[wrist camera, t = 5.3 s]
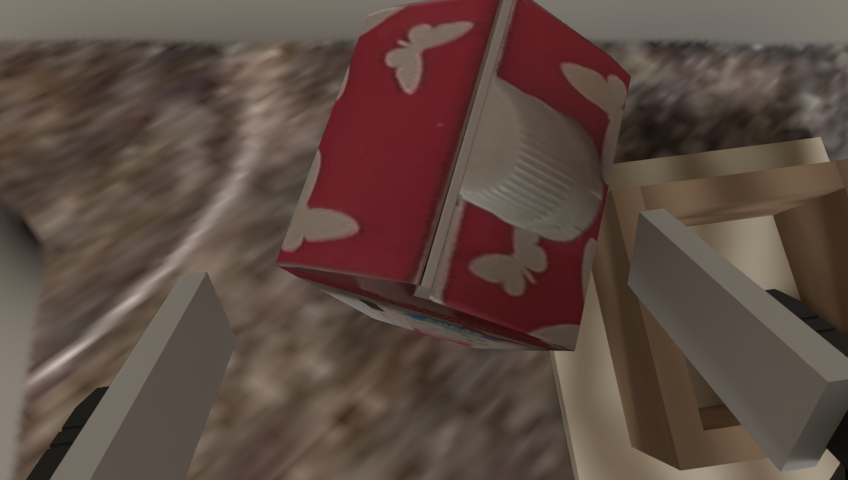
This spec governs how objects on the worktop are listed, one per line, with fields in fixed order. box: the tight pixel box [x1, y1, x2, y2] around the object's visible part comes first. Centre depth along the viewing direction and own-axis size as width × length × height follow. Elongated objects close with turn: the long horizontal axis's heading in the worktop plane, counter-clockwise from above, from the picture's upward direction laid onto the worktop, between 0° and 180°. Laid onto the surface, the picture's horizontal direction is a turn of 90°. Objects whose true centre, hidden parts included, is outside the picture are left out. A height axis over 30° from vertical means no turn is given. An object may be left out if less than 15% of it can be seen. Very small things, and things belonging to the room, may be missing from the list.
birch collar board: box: [550, 137, 848, 480], centre depth 25 cm, size 20×20×6 cm
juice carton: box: [275, 0, 631, 351], centre depth 18 cm, size 7×7×22 cm
